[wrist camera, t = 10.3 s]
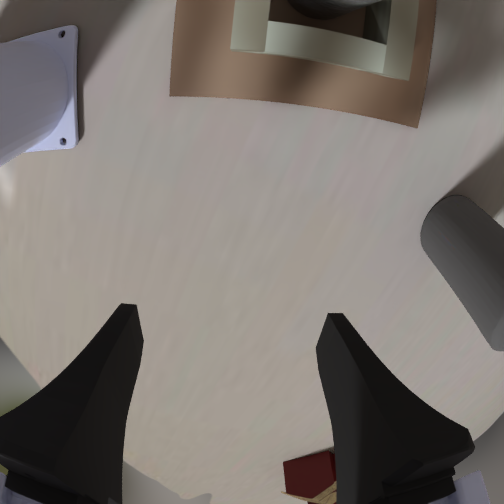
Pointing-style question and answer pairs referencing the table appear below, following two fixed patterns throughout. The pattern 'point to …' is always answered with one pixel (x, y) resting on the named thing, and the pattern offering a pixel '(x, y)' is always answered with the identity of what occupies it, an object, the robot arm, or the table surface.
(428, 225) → the bottle
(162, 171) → the table surface
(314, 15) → the peg
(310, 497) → the toy houses
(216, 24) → the socket
